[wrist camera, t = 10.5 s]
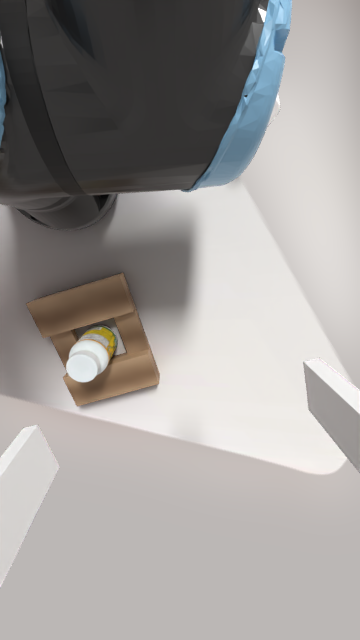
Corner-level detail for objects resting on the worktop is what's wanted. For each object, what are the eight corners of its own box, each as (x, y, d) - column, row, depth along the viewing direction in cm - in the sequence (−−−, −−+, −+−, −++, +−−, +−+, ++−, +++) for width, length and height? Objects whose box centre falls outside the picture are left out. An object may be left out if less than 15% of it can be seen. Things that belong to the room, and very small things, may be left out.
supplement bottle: (95, 317, 40) (73, 341, 31) (124, 336, 42) (111, 364, 32) (78, 343, 42) (52, 373, 32) (107, 360, 43) (89, 394, 34)
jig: (36, 299, 39) (25, 303, 36) (123, 272, 38) (119, 275, 35) (83, 395, 45) (76, 406, 42) (159, 374, 44) (158, 383, 41)
